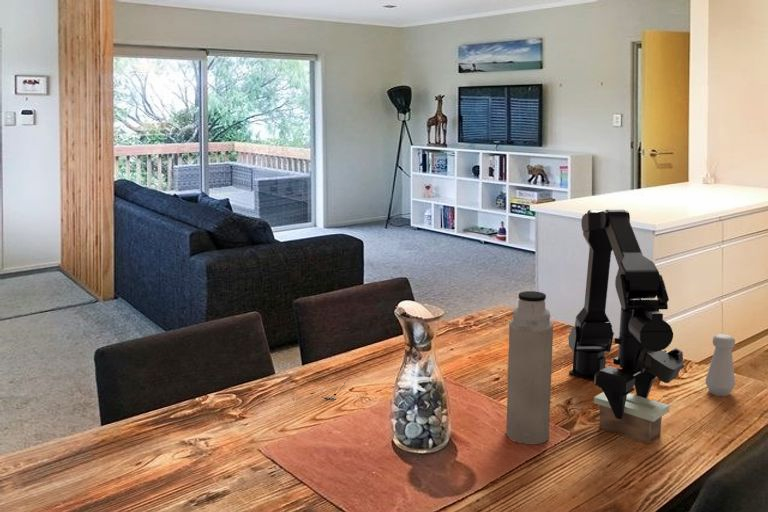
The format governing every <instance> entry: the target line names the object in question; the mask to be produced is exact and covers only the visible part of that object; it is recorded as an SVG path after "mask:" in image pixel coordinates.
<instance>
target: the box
mask: <svg viewBox="0 0 768 512" xmlns="http://www.w3.org/2000/svg"><path fill="white" fill-rule="evenodd" d="M662 418H663V416H661V417H660V418H659V419H657V420H656V421H654V422H652V421H649V420H646V419H643V418H640V417H637V416H634V415H630V414H627V413H623V416H622V419H617V418H616V417H615V415H614V413H613V411H612V408H608V407H605V406H602V405H599V420H598V428H601V429H603V430H605V431H609V432H612V433H615V434H618V435H621V436H624V437H626V438H630V439H633V440H635V441H638V442H640V443H643V444H646V445H650V444H651V443H652V442H653V441H655V440H656V439H657V438H659V437H660V436H661V432H662Z"/></svg>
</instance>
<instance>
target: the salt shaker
mask: <svg viewBox="0 0 768 512" xmlns="http://www.w3.org/2000/svg"><path fill="white" fill-rule="evenodd" d="M712 345H713V346H714V351H713V355H712V358H711V361H710V364H709V368H708V370H707V373H706V376H705V385H706V387H707V389H708V393H709V394H710V395H711V394H712V395H714V396H715V397H727V395H728V396H729V395H731V393H732V391H733V389H734V388H735V385H736V380H735V370H734V362H733V361H734V360H733V354H732V353H733V351H732V350H733V348H734V347H735V346H736V339H735V338H734V337H733V336H732V335H730V334H724V333H720V334H719V333H718V334H715V335H714V336H713V337H712Z"/></svg>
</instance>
